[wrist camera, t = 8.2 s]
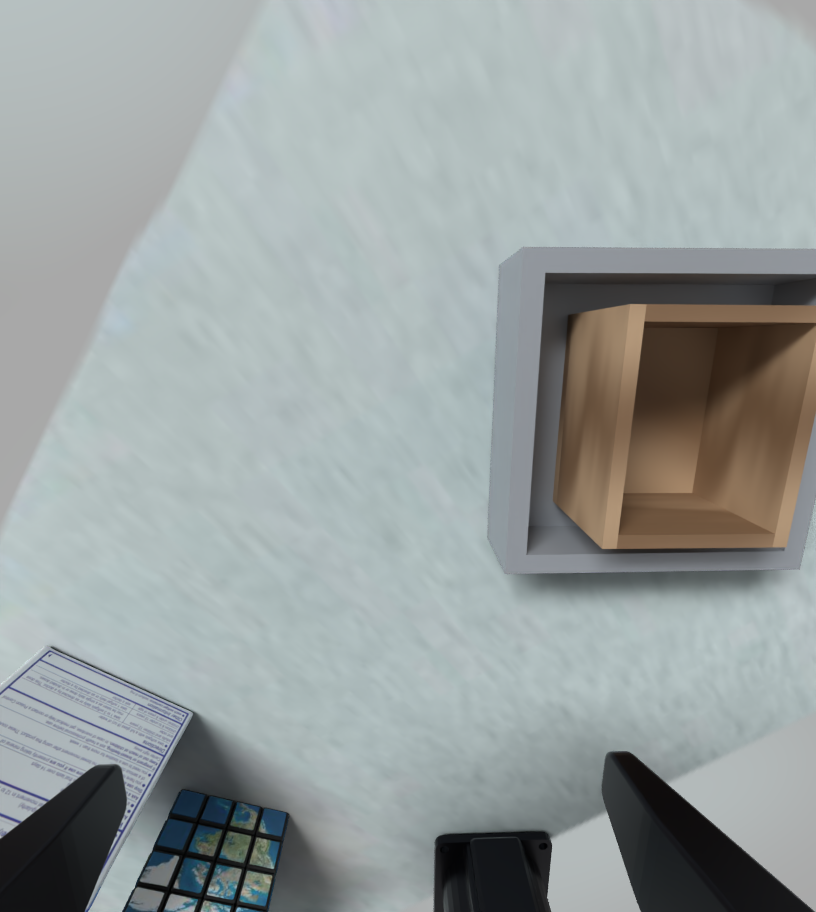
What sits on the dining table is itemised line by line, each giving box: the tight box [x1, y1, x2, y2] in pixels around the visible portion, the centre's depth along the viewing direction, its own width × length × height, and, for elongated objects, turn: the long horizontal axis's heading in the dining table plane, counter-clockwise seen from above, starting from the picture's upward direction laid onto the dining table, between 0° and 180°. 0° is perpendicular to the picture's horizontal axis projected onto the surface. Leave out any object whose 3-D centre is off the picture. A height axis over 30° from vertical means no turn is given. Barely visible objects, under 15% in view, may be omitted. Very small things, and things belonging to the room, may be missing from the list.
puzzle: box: [122, 790, 289, 912], centre depth 22 cm, size 6×6×6 cm
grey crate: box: [487, 247, 816, 574], centre depth 19 cm, size 12×12×4 cm
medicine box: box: [0, 646, 193, 912], centre depth 19 cm, size 8×4×9 cm, turn 58°
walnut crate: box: [553, 304, 816, 549], centre depth 17 cm, size 8×6×5 cm
